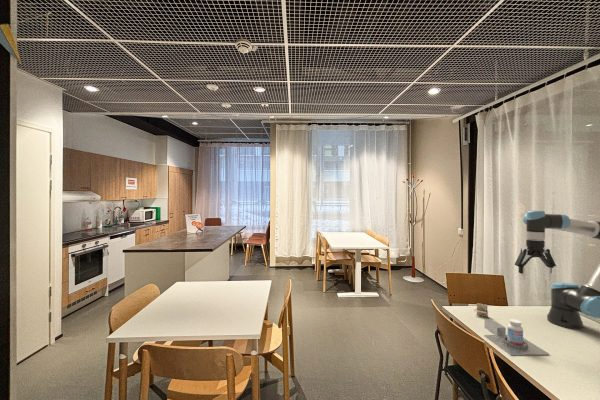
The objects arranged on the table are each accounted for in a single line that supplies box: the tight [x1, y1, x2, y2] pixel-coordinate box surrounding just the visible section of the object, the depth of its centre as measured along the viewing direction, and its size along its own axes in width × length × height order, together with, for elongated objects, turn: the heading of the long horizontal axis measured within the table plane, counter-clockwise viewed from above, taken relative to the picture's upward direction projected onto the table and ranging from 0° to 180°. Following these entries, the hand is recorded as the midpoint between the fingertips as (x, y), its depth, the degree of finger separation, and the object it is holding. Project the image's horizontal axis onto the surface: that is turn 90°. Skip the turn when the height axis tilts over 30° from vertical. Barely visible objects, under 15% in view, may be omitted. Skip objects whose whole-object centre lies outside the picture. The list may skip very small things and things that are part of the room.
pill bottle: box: [506, 318, 524, 345], centre depth 138 cm, size 6×6×11 cm
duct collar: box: [483, 318, 550, 356], centre depth 143 cm, size 18×28×4 cm, turn 1°
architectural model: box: [473, 302, 489, 318], centre depth 172 cm, size 3×7×7 cm, turn 56°
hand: (534, 279), depth 150 cm, fingers open, 13 cm apart
